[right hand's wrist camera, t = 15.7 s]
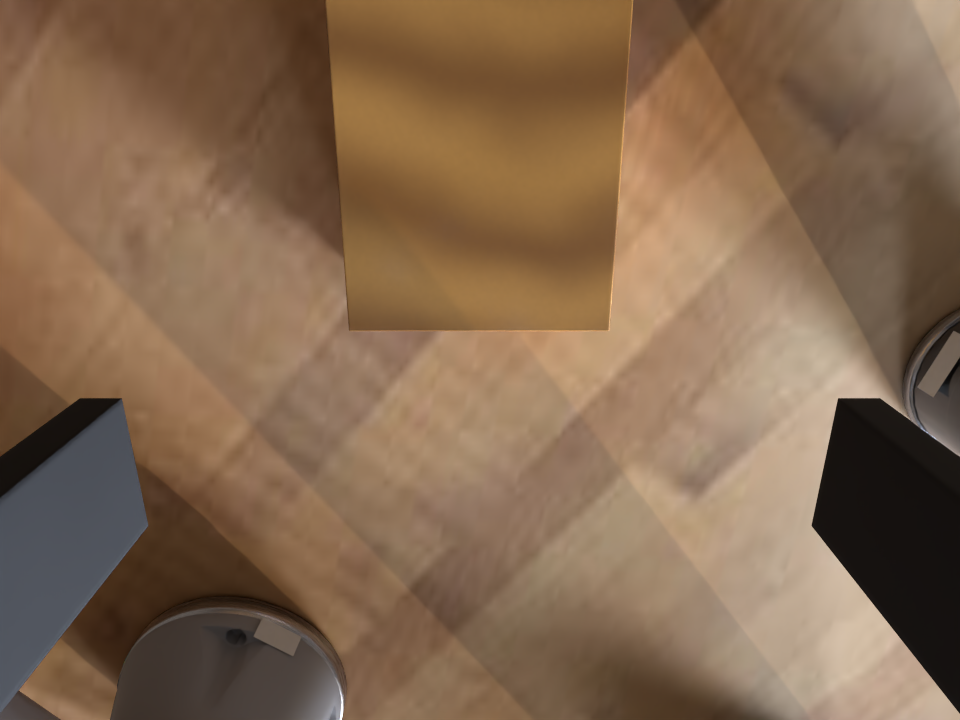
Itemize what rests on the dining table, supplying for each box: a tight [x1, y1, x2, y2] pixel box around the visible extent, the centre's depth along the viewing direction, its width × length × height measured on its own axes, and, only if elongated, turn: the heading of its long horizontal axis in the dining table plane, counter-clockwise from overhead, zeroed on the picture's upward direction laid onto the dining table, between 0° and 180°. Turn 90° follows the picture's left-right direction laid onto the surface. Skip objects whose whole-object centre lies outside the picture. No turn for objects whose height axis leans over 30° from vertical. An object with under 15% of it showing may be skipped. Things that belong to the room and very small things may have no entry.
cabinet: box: [325, 0, 633, 331], centre depth 30 cm, size 21×12×9 cm, turn 0°
